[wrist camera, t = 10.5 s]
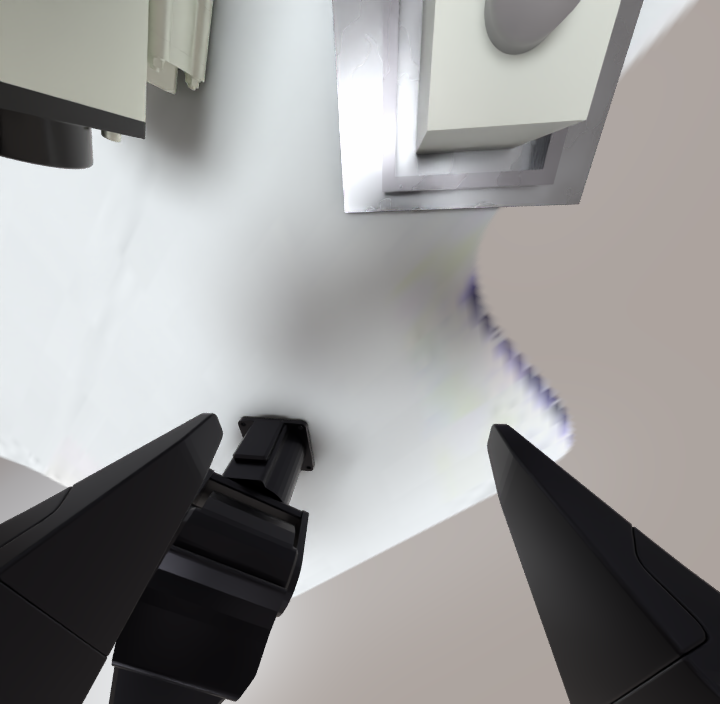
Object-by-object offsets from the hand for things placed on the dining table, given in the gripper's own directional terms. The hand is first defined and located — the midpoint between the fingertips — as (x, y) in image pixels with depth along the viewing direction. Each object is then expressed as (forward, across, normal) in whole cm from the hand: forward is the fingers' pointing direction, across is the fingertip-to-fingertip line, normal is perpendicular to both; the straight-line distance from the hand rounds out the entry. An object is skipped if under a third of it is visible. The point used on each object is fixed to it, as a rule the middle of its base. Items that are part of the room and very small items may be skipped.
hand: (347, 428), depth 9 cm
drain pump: (+10, -5, -11) cm, 16 cm away
